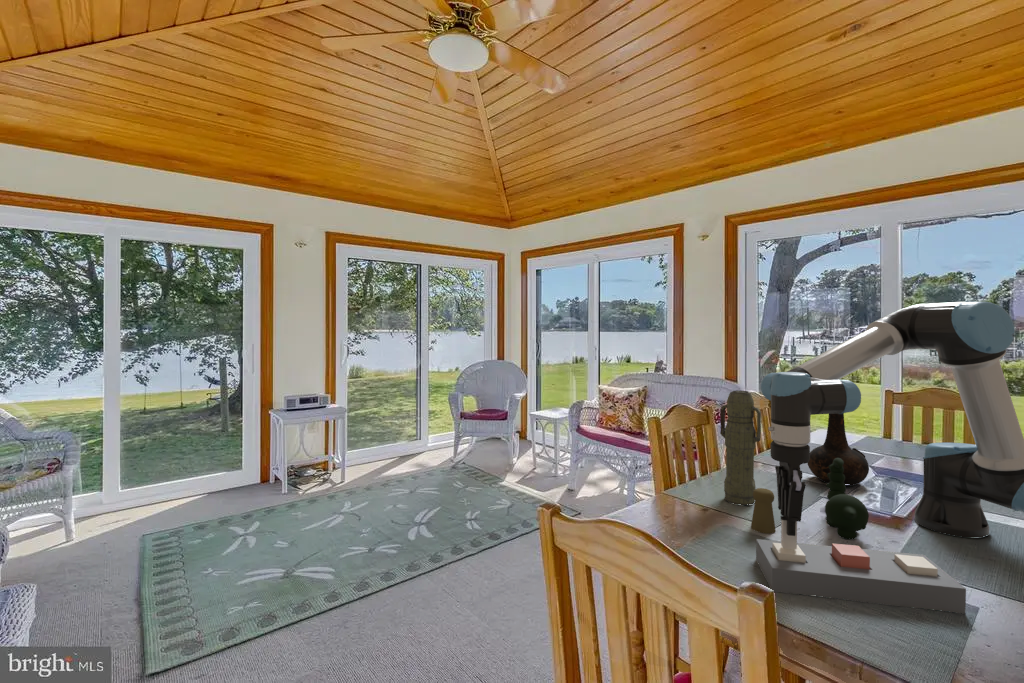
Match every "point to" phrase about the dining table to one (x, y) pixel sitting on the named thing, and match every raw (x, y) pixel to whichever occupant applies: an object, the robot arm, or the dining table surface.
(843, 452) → the glass bottle
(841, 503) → the toy figurine
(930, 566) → the near key
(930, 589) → the key panel
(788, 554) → the far key
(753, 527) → the cork
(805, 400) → the robot arm
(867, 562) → the middle key
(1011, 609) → the dining table surface
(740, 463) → the thermos
